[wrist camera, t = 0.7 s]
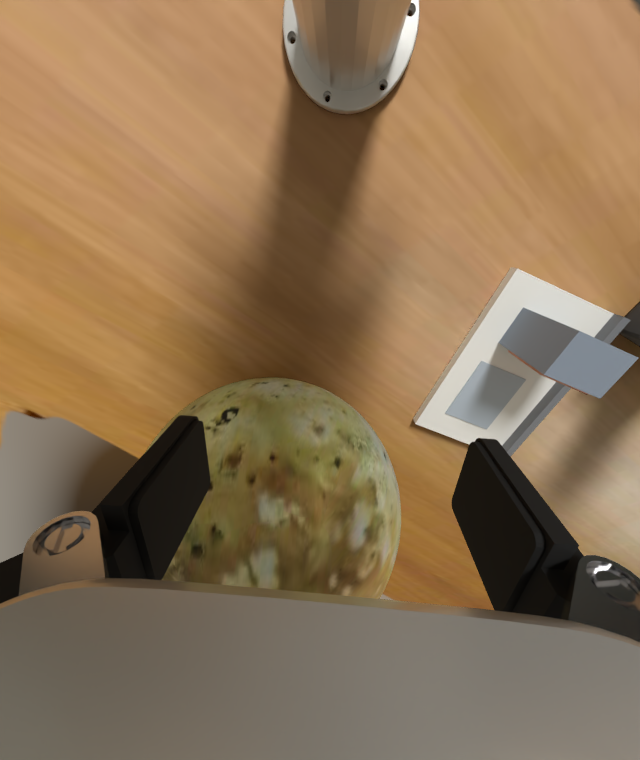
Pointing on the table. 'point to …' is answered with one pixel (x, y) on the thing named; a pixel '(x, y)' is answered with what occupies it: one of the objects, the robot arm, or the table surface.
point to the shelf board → (507, 366)
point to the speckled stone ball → (290, 494)
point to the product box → (565, 353)
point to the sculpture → (633, 325)
